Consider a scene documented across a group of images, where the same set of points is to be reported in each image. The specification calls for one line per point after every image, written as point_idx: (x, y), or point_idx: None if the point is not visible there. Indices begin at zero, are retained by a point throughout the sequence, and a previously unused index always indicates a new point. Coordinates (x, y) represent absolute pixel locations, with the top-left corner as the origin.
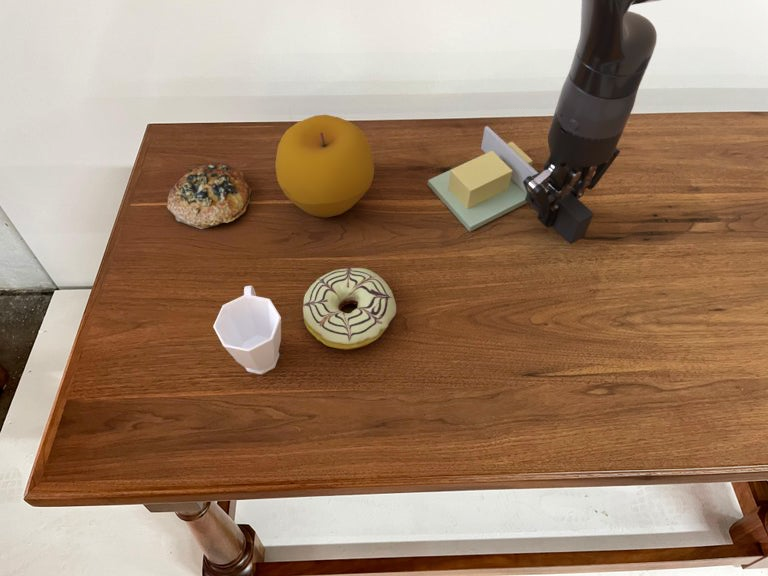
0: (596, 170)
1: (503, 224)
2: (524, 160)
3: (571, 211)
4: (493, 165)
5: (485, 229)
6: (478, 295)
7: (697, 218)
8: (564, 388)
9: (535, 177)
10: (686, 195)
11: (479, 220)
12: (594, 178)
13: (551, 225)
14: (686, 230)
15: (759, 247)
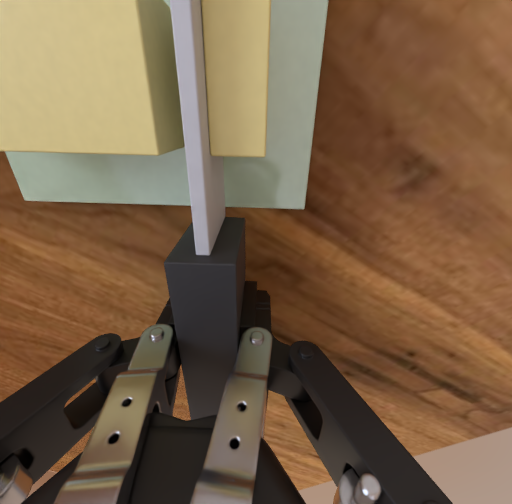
0: (319, 446)
1: (131, 221)
2: (235, 135)
3: (193, 398)
4: (91, 75)
5: (82, 209)
6: (14, 316)
7: (456, 386)
8: (85, 436)
9: (173, 273)
10: (503, 354)
11: (55, 195)
12: (302, 425)
13: None
14: (416, 391)
15: (456, 442)
